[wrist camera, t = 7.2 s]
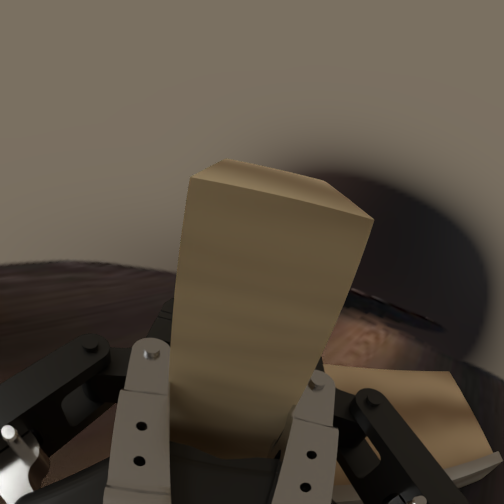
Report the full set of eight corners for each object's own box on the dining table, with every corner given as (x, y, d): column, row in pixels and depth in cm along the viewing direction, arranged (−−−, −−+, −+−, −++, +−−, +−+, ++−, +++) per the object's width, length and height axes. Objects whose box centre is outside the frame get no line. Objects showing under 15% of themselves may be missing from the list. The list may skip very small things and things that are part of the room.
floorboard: (480, 479, 11) (502, 460, 10) (308, 516, 10) (327, 502, 9) (437, 387, 21) (451, 367, 20) (297, 380, 20) (308, 356, 19)
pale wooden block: (239, 499, 10) (374, 219, 5) (168, 486, 10) (190, 177, 5) (245, 426, 15) (324, 181, 10) (186, 415, 15) (225, 158, 10)
